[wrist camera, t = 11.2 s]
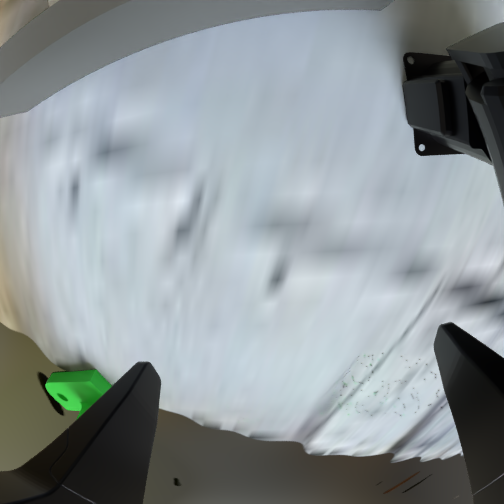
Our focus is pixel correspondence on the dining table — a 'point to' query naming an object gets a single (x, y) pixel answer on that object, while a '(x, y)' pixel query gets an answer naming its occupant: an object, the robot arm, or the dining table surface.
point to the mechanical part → (77, 388)
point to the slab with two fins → (117, 37)
